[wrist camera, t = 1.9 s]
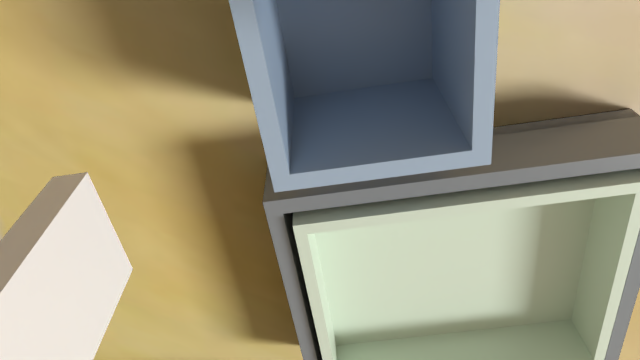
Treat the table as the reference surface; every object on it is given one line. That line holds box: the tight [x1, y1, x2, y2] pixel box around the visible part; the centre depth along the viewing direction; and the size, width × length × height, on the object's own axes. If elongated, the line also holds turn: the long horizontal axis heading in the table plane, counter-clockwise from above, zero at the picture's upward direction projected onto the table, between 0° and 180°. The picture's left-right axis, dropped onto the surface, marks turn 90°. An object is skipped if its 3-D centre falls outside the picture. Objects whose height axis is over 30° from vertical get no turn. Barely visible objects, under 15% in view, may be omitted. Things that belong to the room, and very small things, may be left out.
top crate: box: [293, 168, 640, 360], centre depth 28 cm, size 13×16×4 cm
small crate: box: [229, 0, 500, 193], centre depth 19 cm, size 9×8×8 cm
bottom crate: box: [263, 109, 640, 360], centre depth 28 cm, size 16×19×4 cm
